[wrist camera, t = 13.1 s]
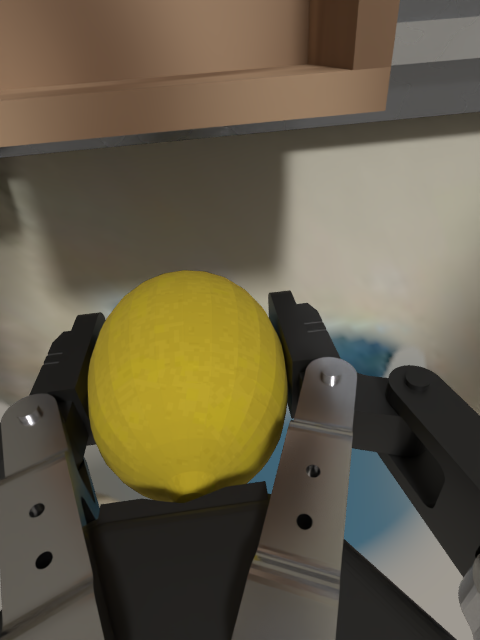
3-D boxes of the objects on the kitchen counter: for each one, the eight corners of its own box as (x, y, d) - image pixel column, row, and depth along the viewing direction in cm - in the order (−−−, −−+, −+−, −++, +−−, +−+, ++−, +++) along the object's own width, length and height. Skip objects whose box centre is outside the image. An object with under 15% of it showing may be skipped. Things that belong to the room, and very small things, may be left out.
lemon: (81, 267, 13) (-16, 480, 7) (230, 204, 13) (276, 374, 6) (158, 373, 17) (140, 586, 10) (280, 327, 16) (346, 524, 9)
